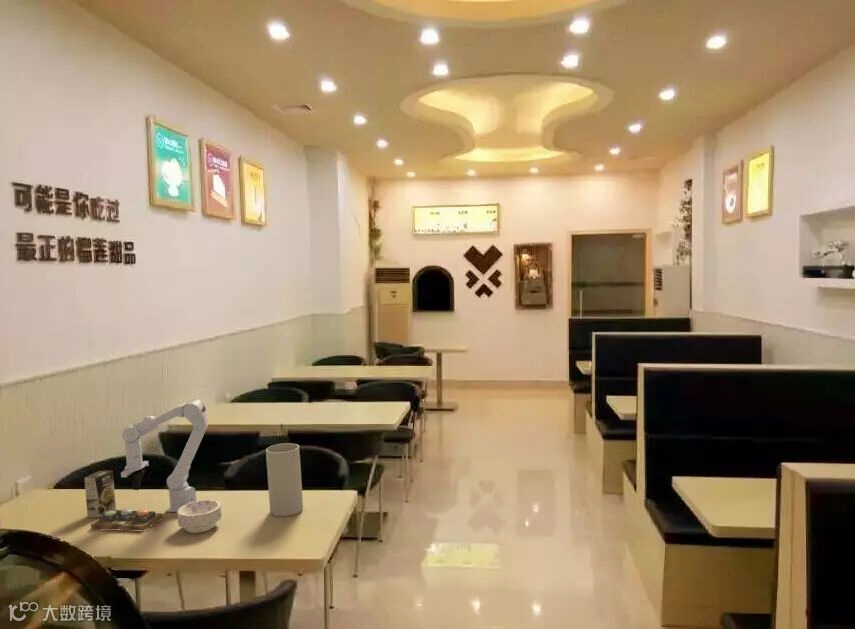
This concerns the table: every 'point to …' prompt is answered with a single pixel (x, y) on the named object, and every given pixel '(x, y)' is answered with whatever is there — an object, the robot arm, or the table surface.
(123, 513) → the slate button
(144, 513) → the terracotta button
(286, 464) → the cylinder vase
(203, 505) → the paper bowls
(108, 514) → the sage button
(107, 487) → the coffee box
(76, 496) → the table surface
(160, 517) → the console
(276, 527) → the table surface
